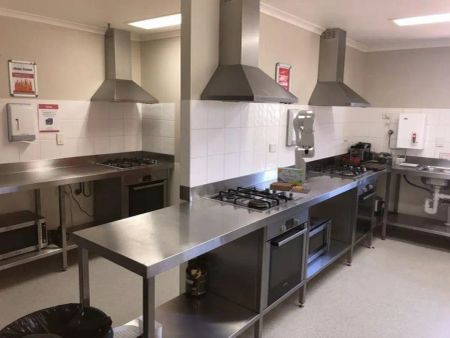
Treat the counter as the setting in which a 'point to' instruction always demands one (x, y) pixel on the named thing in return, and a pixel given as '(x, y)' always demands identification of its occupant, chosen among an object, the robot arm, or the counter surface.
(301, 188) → the tile
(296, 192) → the mat
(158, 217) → the counter surface
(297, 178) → the snack box
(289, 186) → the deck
